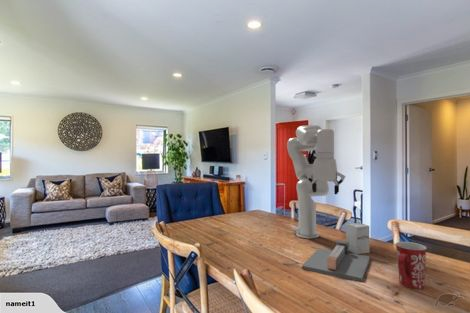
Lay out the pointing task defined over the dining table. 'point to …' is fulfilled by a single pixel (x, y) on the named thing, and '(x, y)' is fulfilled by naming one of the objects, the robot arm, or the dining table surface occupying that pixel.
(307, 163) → the robot arm
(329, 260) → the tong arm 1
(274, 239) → the dining table surface
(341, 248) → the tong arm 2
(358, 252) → the supplement box
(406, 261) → the mug
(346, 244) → the block
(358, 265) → the mat
